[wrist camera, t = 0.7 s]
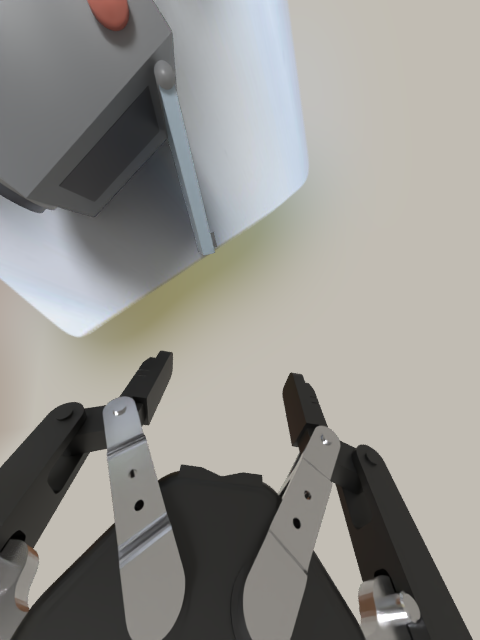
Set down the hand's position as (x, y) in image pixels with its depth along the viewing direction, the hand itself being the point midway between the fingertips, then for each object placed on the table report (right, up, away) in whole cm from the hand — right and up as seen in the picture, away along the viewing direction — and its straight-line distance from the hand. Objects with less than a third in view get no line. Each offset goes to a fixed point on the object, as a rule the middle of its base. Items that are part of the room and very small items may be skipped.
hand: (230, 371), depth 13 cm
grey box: (-16, +24, +10) cm, 31 cm away
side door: (-6, +20, +13) cm, 25 cm away
